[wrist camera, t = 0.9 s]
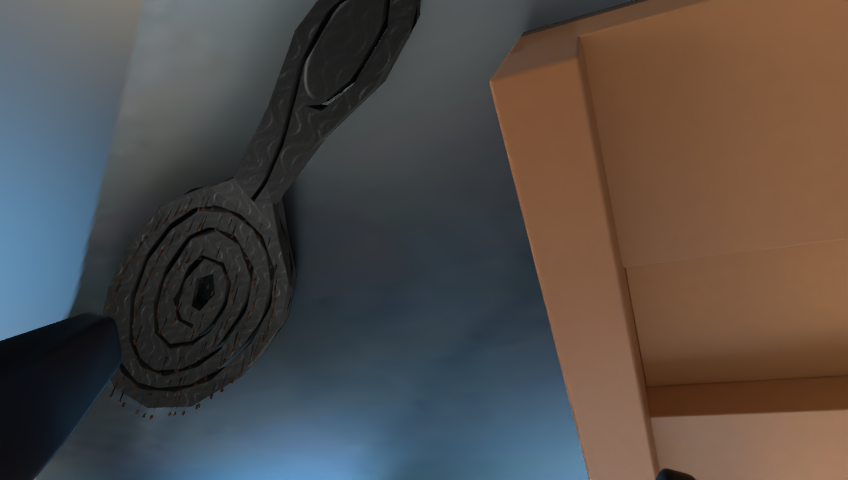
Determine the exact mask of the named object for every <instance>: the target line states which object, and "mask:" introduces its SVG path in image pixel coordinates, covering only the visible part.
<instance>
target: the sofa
mask: <svg viewBox="0 0 848 480" xmlns="http://www.w3.org/2000/svg"><path fill="white" fill-rule="evenodd" d="M489 84H490V88H491V92H492V96H493V100H494V104H495V108H496V112H497V116H498V120H499V123H500V127H501V131H502V135H503V139H504V143H505V147H506V151H507V155H508V159H509V163H510V167H511V171H512V175H513V179H514V183H515V187H516V191H517V195H518V199H519V203H520V207H521V211H522V215H523V219H524V223H525V227H526V231H527V235H528V239H529V243H530V247H531V251H532V255H533V259H534V263H535V266H536V270H537V274H538V278H539V282H540V286H541V290H542V294H543V298H544V302H545V306H546V310H547V314H548V318H549V322H550V326H551V330H552V334H553V338H554V342H555V346H556V350H557V354H558V358H559V362H560V366H561V370H562V374H563V378H564V382H565V386H566V390H567V394H568V398H569V402H570V405H571V409H572V413H573V417H574V421H575V425H576V429H577V433H578V437H579V441H580V445H581V449H582V453H583V457H584V461H585V465H586V469H587V473H588V477H589V480H655V479H656V477H657V475H658V473H659V472H660V471H661V470H662V469H664V468H668V469H672V470H676V471H679V472H683V473H687V474H690V475H692V476H693V477H694V478H695V479H696V480H848V0H635V1H631V2H628V3H624V4H621V5H617V6H614V7H610V8H607V9H604V10H600V11H597V12H593V13H590V14H586V15H583V16H579V17H576V18H572V19H569V20H565V21H562V22H559V23H555V24H552V25H548V26H545V27H541V28H538V29H534V30H531V31H527V32H524V33H523V34H522V35H521V36H520V38H519V39H518V40H517V42H516V43H515V44H514V46H513V47H512V48H511V50H510V51H509V53H508V54H507V55H506V58H505V59H504V61H503V62H502V64H501V65H500V66H499V68H498V69H497V71H496V72H495V73H494V75H493V76H492V78H491V79H490V83H489Z"/></svg>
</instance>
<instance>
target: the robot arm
mask: <svg viewBox="0 0 848 480" xmlns="http://www.w3.org/2000/svg"><path fill="white" fill-rule="evenodd" d="M122 355H123V354H122V348H121V343H120V339H119V334H118V329H117V325H116V322H115V321H114V319H113V318H111V317H109V316H105V315H102V314H98V313H94V312H87V313H83V314H80V315H77V316H74V317H71V318H68V319H65V320H62V321H59V322H56V323H53V324H50V325H47V326H44V327H41V328H38V329H35V330H32V331H29V332H26V333H23V334H20V335H17V336H14V337H11V338H8V339H5V340H2V341H0V480H34V479H35V478H36V477H37V475H38V474H39V473H40V472H41V471H42V470H43V468H44V467H45V466H46V465H47V464H48V463H49V461H50V460H51V459H52V458H53V457H54V456H55V454H56V453H57V452H58V451H59V449H60V448H61V447H62V446H63V445H64V443H65V442H66V441H67V439H68V438H69V437H70V435H71V434H72V433H73V431H74V430H75V428H76V427H77V426H78V424H79V423H80V421H81V420H82V419H83V417H84V416H85V414H86V413H87V412H88V410H89V409H90V407H91V406H92V405H93V403H94V402H95V400H96V399H97V398H98V396H99V395H100V393H101V392H102V390H103V389H104V388H105V386H106V385H107V383H108V382H109V381H110V379H111V378H112V376H113V375H114V374H115V372H116V371H117V369H118V368H119V366H120V364H121V361H122ZM655 480H696V479H695V478H694V477H693V476H692V475H690V474H687V473H683V472H679V471H676V470H672V469H668V468H664V469H662V470H661V471H660V472H659V473H658V475H657V477H656V479H655Z"/></svg>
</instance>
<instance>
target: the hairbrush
mask: <svg viewBox="0 0 848 480" xmlns="http://www.w3.org/2000/svg"><path fill="white" fill-rule="evenodd" d="M345 1H346V0H318V1H317V2H316V4H315V5H314V6H313V8H312V9H311V10H310V12H309V13H308V14H307V16H306V17H305V18H304V20H303V21H302V22H301V24H300V25H299V26H298V28H297V29H296V30H295V33H294V36H293V38H292V41H291V44H290V47H289V50H288V52H287V55H286V58H285V61H284V64H283V66H282V69H281V72H280V75H279V77H278V80H277V83H276V86H275V89H274V91H273V94H272V97H271V100H270V102H269V105H268V108H267V110H266V112H265V114H264V116H263V118H262V120H261V122H260V124H259V126H258V128H257V130H256V133H255V135H254V137H253V139H252V141H251V143H250V145H249V147H248V149H247V151H246V153H245V155H244V157H243V159H242V162H241V164H240V166H239V168H238V170H237V172H236V174H235V176H234V177H232V178H230V179H228V180H227V181H225V182H223V183H219V184H210V185H207V186H205V187H200V188H196V189H192V190H190V191H188V192H187V193H185V194H184V195H182V196H180V197H178V198H175V199H173V200H171V201H169V202H168V203H166V204H164V205H162V206H160V207H159V208H158V210H157V211H156V212H155V213H154V215H153V216H152V217H151V218H150V219H149V221H148V222H147V223H146V224H145V226H144V227H143V228H142V229H141V230H140V232H139V233H138V234H137V235H136V237H135V238H134V239H133V240H132V241H131V243H130V244H129V245H128V246H127V248H126V250H125V252H124V254H123V257H122V259H121V261H120V263H119V265H118V268H117V270H116V272H115V274H114V277H113V279H112V281H111V283H110V285H109V288H108V292H107V296H106V301H105V306H104V310H103V315H105V316H109V317H111V318H113V319H114V321H115V322H116V325H117V329H118V334H119V339H120V343H121V348H122V354H123V355H122V361H121V364H120V366H119V368H118V369H117V371H116V372H115V374H114V375H113V376H112V378H111V381H112V384H113V387H114V389H113V391H112V393H111V395H110V396H109V397H112V395H113V392H114V390H115V388H116V389H117V390H119V391H121V392H122V393H124V394H126V395H127V396H129V397H131V398H132V399H134V400H136V401H137V402H139V403H141V404H142V405H144V406H145V407H147V408H161V407H188V406H193V405H195V404H196V403H199V402H200V401H201V400H203V399H205V398H206V397H208V396H209V395H210V399H212V396H213V393H214V392H216V391H218V390H219V389H221V390H220V392H223V391H224V390H223V387H224V386H226V385H228V384H229V383H233V381H234V380H236V379H238V378H239V377H241V376H243V375H244V373H245V372H246V371H247V370H248V369H249V368H250V367H251V366H252V365H253V364H254V363H255V361H256V360H257V359H258V358H259V357H260V356H261V355H262V354H263V353H264V352H265V350H266V349H267V347H268V346H269V344H270V343H271V341H272V339H273V338H274V337H275V335H276V334H277V333H278V331H279V330H280V328H281V327H282V325H283V324H284V322H285V321H286V319H287V318H288V316H289V311H290V306H291V300H292V295H293V290H294V285H295V280H296V275H297V274H296V269H295V264H294V259H293V255H292V250H291V245H290V240H289V235H288V230H287V224H286V218H285V212H284V206H283V201H282V196H283V195H284V193H285V192H286V191H287V189H288V188H289V187H290V185H291V184H292V183H293V181H294V180H295V179H296V177H297V176H298V174H299V173H300V172H301V170H302V169H303V168H304V166H305V165H306V164H307V162H308V161H309V160H310V158H311V157H312V156H313V154H314V153H315V152H316V150H317V149H318V147H319V146H320V145H321V143H322V142H323V141H324V139H325V138H326V137H327V136H328V135H329V134H330V133H331V132H333V131H334V130H335V129H336V128H337V127H338V126H339V125H340V124H341V123H342V122H343V121H344V120H345V119H346V118H347V117H348V116H349V115H350V114H351V113H352V112H353V111H354V110H355V109H356V108H358V107H359V106H360V105H361V104H362V103H363V102H364V101H365V100H366V99H367V98H368V97H369V96H370V95H371V94H372V93H373V92H374V91H375V90H376V89H377V88H378V87H379V86H380V85H381V84H383V83H384V82H385V80H386V78H387V76H388V74H389V73H390V71H391V69H392V67H393V65H394V63H395V61H396V60H397V58H398V56H399V54H400V52H401V50H402V48H403V47H404V45H405V43H406V41H407V40H408V38H409V36H410V34H411V32H412V30H413V28H414V26H415V24H416V22H417V20H418V18H419V16H420V0H348V1H346V2H345ZM343 2H345V3H344V4H342V3H343ZM340 4H342V5H341V6H339V5H340ZM386 29H387V31H386ZM385 31H386V33H385V34H384V32H385ZM383 34H384V36H383ZM382 36H383V38H382V39H381V37H382ZM380 39H381V41H380ZM379 41H380V42H379ZM378 42H379V44H378ZM377 44H378V46H377ZM376 46H377V47H376ZM375 47H376V49H375ZM374 49H375V50H374ZM373 51H374V52H373ZM372 52H373V54H372ZM371 54H372V55H371ZM370 56H371V57H370ZM369 57H370V58H369ZM368 59H369V60H368ZM367 61H368V62H367ZM365 64H366V65H365ZM362 69H363V70H362ZM352 83H354V84H353V86H352V87H351V88H349V89H348V90H347V91H346V92H344V93H343V94H342V95H341V96H339V97H338V98H337V99H336V100H334V101H333V102H332V103H331V104H329V105H321V104H322V103H324V102H326V101H329V100H330V99H332V98H333V97H335V96H336V95H337V94H339V93H341V92H342V91H343V90H344V89H345V88H347V87H348V86H349V85H351V84H352ZM285 138H286V139H285ZM284 141H285V142H284ZM265 185H266V186H265ZM206 206H210V207H207V208H206ZM196 207H199V208H198V210H197V212H195V213H194V214H192V215H191V216H189V217H188V218H186V219H185V220H184V221H183V222H181V223H180V224H179V225H177V226H176V227H174V228H173V229H172V230H171V231H170V229H171V227H172V226H173V225H174V224H175V223H177V222H178V221H179V220H181V219H182V218H183V217H185V216H186V215H187V214H188V213H190V212H191V211H192V210H194V209H195V208H196ZM201 207H204V208H203V209H202V210H200V209H201ZM208 227H213V228H212V229H208V230H205V231H204V232H202V233H201V234H199V235H197V234H198V233H199V232H200V231H201V230H203V229H206V228H208ZM169 231H170V232H169ZM168 232H169V233H168ZM167 234H168V235H167ZM195 235H197V236H196V237H194V236H195ZM193 237H194V238H193ZM188 242H189V243H188ZM187 243H188V244H187ZM186 244H187V246H186V248H185V249H184V247H185V245H186ZM183 249H184V251H183ZM182 251H183V252H182ZM181 253H182V254H181ZM202 256H206V257H207V258H205V259H204V260H203V261H202V262H201V263H200V264H199V265H198V266H197V267H196V268H195V269H194V267H195V265H196V263H197V261H198V259H199V260H202ZM193 269H194V270H193ZM192 271H193V272H192ZM211 274H213V279H214V288H215V295H214V296H213V297H212V298H211V299H210V300H209V302H207V301H206V300H205V299H203V298H202V297H201V296H200V294H201V291H202V287H203V284H204V280H205V277H206V276H208V275H211ZM211 279H212V278H211ZM210 282H211V281H210ZM208 288H210V284H209V286H207V289H208ZM212 294H214V292H213V291H212V293H211V295H212ZM271 303H272V305H271ZM226 306H227V307H226ZM247 306H248V309H247V310H246V312H245V313H244V315H243V317H242V318H241V320H240V321H239V323H238V324H237V326H236V327H235V329H234V330H233V332H232V333H231V335H230V336H229V338H228V339H227V341H226V343H225V344H224V346H223V347H221V348H219V349H217V350H216V351H214V350H215V349H216V348H217V347H218V346H219V345H220V343H221V342H222V341H224V340H225V339H226V338H227V336H228V335H229V333H230V332H231V330H232V329H233V327H234V326H235V324H236V323H237V321H238V320H239V318H240V317H241V315H242V314H243V312H244V311H245V309H246V308H247ZM270 306H271V307H270ZM225 307H226V309H225ZM224 309H225V310H224ZM223 310H224V312H223V313H222V311H223ZM221 313H222V315H221V316H220V318H219V319H218V321H217V322H216V324H215V325H214V327H213V328H212V329H211V330H210V331H209V332H208V333H207V334H204V335H202V336H199V335H200V334H201V333H202V332H203V331H204V330H206V329H207V328H208V327H209V326H210V325H211V324H213V323H214V322H215V321H216V319H217V318H218V317H219V315H220V314H221ZM264 318H265V319H264ZM263 319H264V320H263ZM262 321H263V322H262ZM261 322H262V324H261V326H260V328H259V330H258V332H257V334H256V336H255V338H254V340H253V341H252V342H251V343H250V344H249V345H248V346H247V347H246V348H245V349H244V351H242V352H241V353H240V354H239V355H238V356H237V357H236V358H235V359H234V360H233V361H232V362H231V363H230V364H229V365H227V366H226V367H223V368H221V369H219V368H220V367H221V366H222V365H223V364H224V363H225V362H226V361H227V360H229V359H230V358H231V357H232V356H233V355H234V354H235V353H236V352H237V351H238V350H239V349H240V348H241V347H242V346H243V345H244V344H245V343H246V342H247V341H248V340H249V339H250V337H251V336H252V334H253V333H254V332H255V330H256V329H257V328H258V326H259V325H260V323H261ZM198 336H199V337H198ZM213 351H214V352H213ZM210 353H211V354H210ZM208 354H209V355H208ZM206 355H207V356H206ZM203 357H204V358H203ZM199 359H200V360H199ZM195 361H197V362H195ZM193 362H195V363H193ZM192 363H193V364H192ZM218 369H219V370H218ZM211 394H212V395H211ZM122 396H123V394H122ZM122 396H121V398H122ZM121 398H120V400H119V401H118V404H119V403H120V402H121ZM141 404H140V405H141ZM124 405H125V402H124V403H123V405H122V407H124ZM198 407H199V408H200V404H199V405H196V409H197V408H198ZM176 409H177V408H176ZM154 410H155V409H154ZM138 412H139V409H138V410H137V411H136V413H135V414H138ZM145 414H146V413H145ZM145 414H144V415H143V417H145ZM184 414H185V411H183V412H182V415H184ZM170 415H171V412H170V413H169V414H168V416H170ZM174 415H176V411H175V413H174ZM174 415H173V416H174ZM151 418H153V415H151V416H150V419H151Z"/></svg>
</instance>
